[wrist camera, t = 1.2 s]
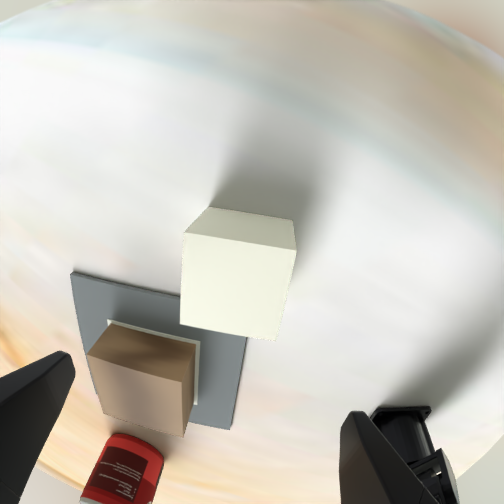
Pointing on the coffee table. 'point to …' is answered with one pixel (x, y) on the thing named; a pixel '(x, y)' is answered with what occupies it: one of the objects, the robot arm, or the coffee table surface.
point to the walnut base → (144, 378)
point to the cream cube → (236, 272)
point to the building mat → (166, 325)
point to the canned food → (124, 473)
